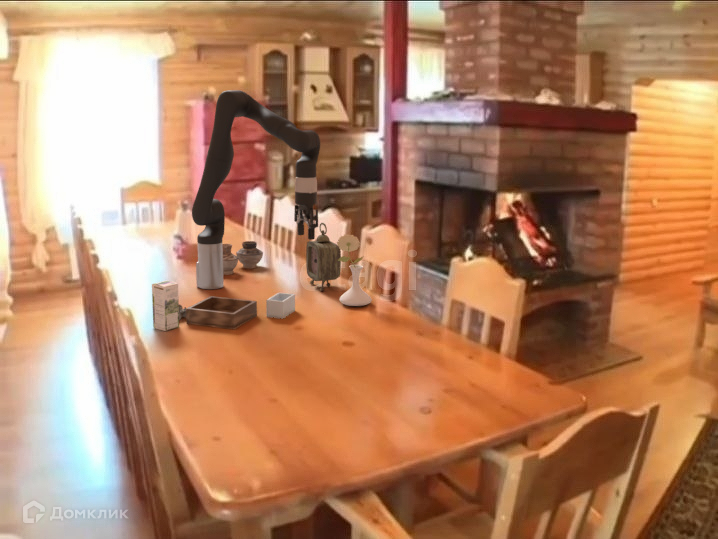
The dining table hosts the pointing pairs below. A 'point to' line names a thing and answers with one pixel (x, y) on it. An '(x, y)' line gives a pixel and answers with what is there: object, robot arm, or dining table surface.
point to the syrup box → (165, 305)
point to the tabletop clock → (323, 259)
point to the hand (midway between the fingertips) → (306, 237)
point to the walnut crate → (221, 312)
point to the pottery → (241, 256)
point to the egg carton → (182, 312)
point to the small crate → (280, 305)
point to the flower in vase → (353, 273)
